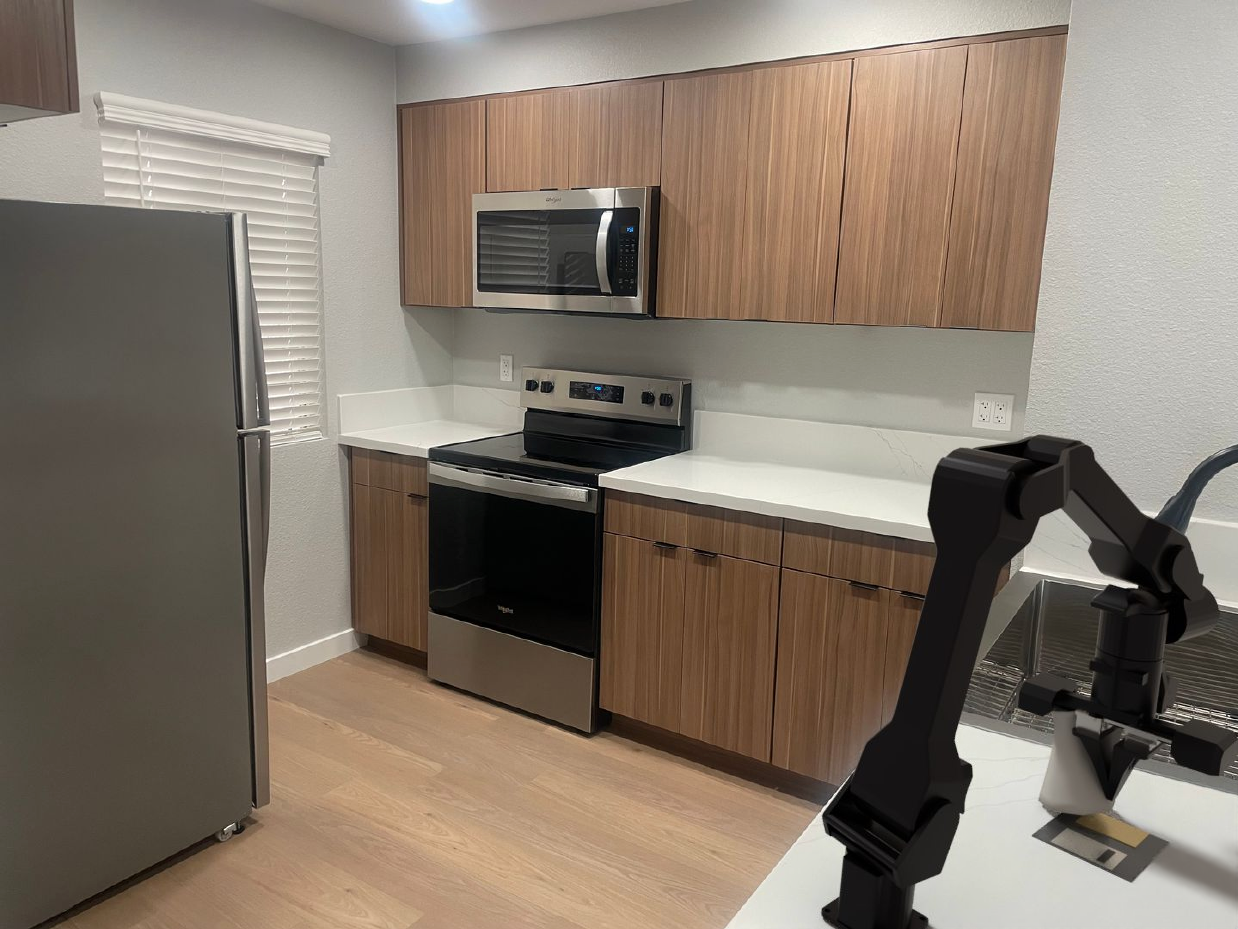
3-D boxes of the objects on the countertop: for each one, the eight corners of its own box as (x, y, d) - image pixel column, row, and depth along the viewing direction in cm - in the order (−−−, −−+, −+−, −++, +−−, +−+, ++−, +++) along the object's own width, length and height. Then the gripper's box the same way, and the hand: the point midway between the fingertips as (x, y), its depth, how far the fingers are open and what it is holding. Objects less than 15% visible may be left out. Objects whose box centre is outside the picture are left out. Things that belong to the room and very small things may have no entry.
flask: (1123, 818, 89) (1112, 717, 89) (1042, 817, 91) (1031, 719, 91) (1108, 790, 96) (1098, 696, 96) (1034, 790, 98) (1023, 698, 98)
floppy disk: (1130, 881, 82) (1130, 879, 82) (1031, 835, 89) (1032, 834, 89) (1169, 842, 89) (1169, 840, 89) (1074, 802, 95) (1074, 800, 95)
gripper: (1267, 661, 86) (1245, 812, 89) (1068, 609, 100) (1053, 741, 103) (1229, 690, 79) (1206, 854, 82) (1020, 630, 93) (1005, 772, 96)
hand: (1111, 799), depth 91 cm, fingers closed, pressing on flask
